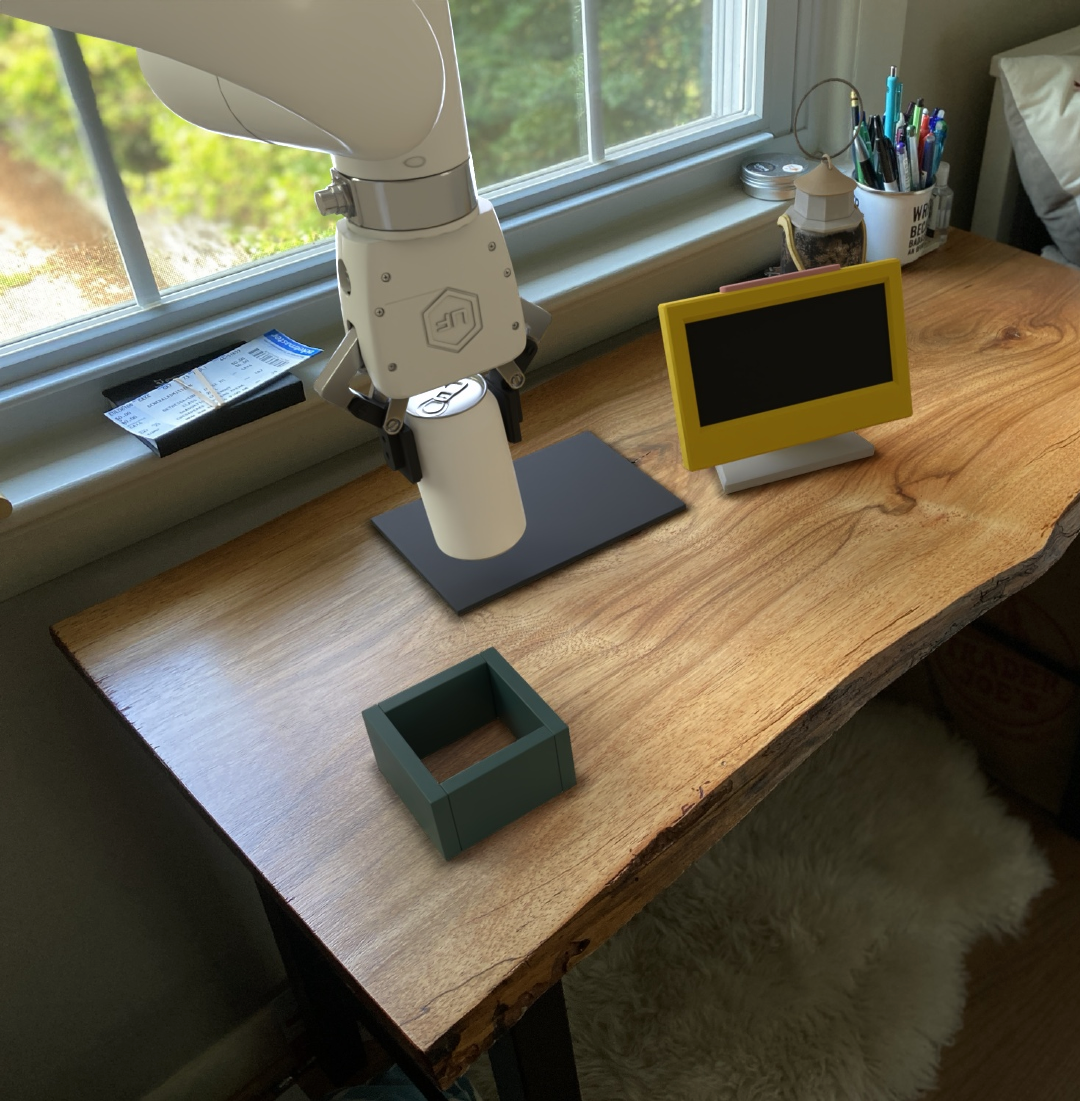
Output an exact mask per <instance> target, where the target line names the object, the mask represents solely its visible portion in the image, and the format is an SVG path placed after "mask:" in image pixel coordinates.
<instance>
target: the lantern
mask: <svg viewBox="0 0 1080 1101" xmlns="http://www.w3.org/2000/svg"><path fill="white" fill-rule="evenodd" d="M830 82H838V83H843V84H845V85H847V86H848V87H850V88H851V89H852V90H853V91H854V94H855V95H856V96H857V99H858V103H859V110H860V111H859V112H860V115H859V122H858V125H857V128H856V131H855V132H854V134H853V137H852V138H851V139H850V141H849V142H848V143H847V144H846V145H845V146H844V148H842V149H841V150H840V151H838V152H836V153H834V154H832V155H829V154H827V153H824V154H823V155H822V156H821V157H820V156H815V155H813V154H810V153H809V152H808V151H806V150H805V148H804V147H803V146H802V145H801V142H800V140H799V136H798V132H797V121H798V116H799V113H800V109H801V107H802V105H803V103H804V102H805V100H806V98H807V97H808V96H809V95H810V93H812V91H814V90H815V89H816V88H818V87H820V86H821V85H823V84H826V83H830ZM863 119H864V105H863V100H862V97H861V94H860V92H859V90H858V89H857V87H855V86H854V85H853V84H852V83H851V82H850V81H849V80H846V79H843V78H841V77H840V78H839V77H830V78H826V79H823V80H820V81H819V82H817V83H814V84H813V85H812V86H811V87H810V88H809V89H808V90H807V91H806V92H805V94H803V95H802V97H801V99H800V101H799V103H798V104H797V107H796V109H795V113H794V116H793V124H792V127H793V135H794V139H795V143H796V144H797V147H798V148H799V149H800V151H801V152H802V154H804V155H805V156H806V157H808V158H811V159H812V160H816V161H820V163H819V164H818V165H816V167H814V168H812V169H811V170H810V171H809V172H807V173H805V174H803V175H801V176H799V177H796V178H795V179H794V181H793V185H794V187H795V188H796V189H795V198H794V203H793V204H791V205H790V206H789V207H788V208H786V210H785V211H784V213H783V214H782V215H780V216H779V217H778V219H777V221H776V224H777V225H776V226H777V227H779V228H783V229H782V232H781V248H780V249H781V251H780V266H779V275H783V274H788V273H793V272H798V271H803V270H808V269H813V268H818V267H823V266H828V265H834V264H840V268H844V267H849V266H854V265H859V264H864V263H867V254H868V253H867V252H868V232H867V224H866V221H865V218H864V217H865V213H863V212H862V211H861V210H860V208H859V206H858V205H857V204H856V203H855V190H857V188H858V182H856V181H855V180H854V178H851V177H849V176H848V175H846V174H844V173H843V172H842V171H841V170H839V169H838V167H836V165H834V164H833V163H832V159H836V158H837V157H839V156H841V155H842V154H843V153H845V152H846V151H847V150H848V149H849V148H850V147H851V146H852V144H853V143H854V142H855V141H856V139H857V138H858V135H859V133H860V131H861V128H862V125H863Z"/></svg>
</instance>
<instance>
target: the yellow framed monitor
mask: <svg viewBox="0 0 1080 1101" xmlns="http://www.w3.org/2000/svg"><path fill="white" fill-rule="evenodd" d="M903 289H904V288H903V279H902V266H901V260H900V259H899V258H893V257H892V258H891V257H890V258H885V259H880V260H875V261H870V262H866V263H864V264H859V265H854V266H849V267H844V268H840V264H834V265H828V266H823V267H818V268H813V269H808V270H803V271H798V272H793V273H788V274H783V275H780V274H779V275H773V276H769V277H763V278H758V279H753V280H748V281H743V282H738V283H732V284H727V285H723V286H720V287H719V292H714V293H709V294H703V295H699V296H694V297H693V296H692V297H688V298H683V299H678V300H673V301H668V302H663V303H659V305H658V306H657V311H658V317H659V323H660V328H661V335H662V341H663V348H664V353H665V359H666V360H665V361H666V366H667V372H668V378H669V384H670V390H671V397H672V403H673V409H674V415H675V423H676V429H677V434H678V438H679V439H678V441H679V447H680V454H681V459H682V465H683V468H684V469H685V470H686V471H688V472H691V473H694V472H698V471H702V470H706V469H710V468H713V467H715V470H716V473H717V476H718V479H719V481H720V484H721V487H722V490H723V492H724V493H725V494H727V495H728V494H732V493H735V492H739V491H743V490H747V489H751V488H755V487H758V486H762V485H765V484H770V483H774V482H778V481H782V480H785V479H788V478H792V477H797V476H800V475H804V474H808V473H812V472H815V471H818V470H822V469H826V468H831V467H833V466H838V465H842V464H846V463H849V462H853V461H857V460H861V459H864V458H869V457H872V456H874V455H875V445H874V444H873V443H872V442H870V441H868V440H867V439H865V437H862V436H861V435H860V434H858V433H856V432H855V431H859V430H863V429H867V428H872V427H876V426H880V425H883V424H887V423H891V422H895V421H899V420H903V419H907V418H910V417H912V416H913V414H914V411H913V399H912V387H911V386H912V385H911V373H910V363H909V351H908V350H909V349H908V340H907V339H908V338H907V326H906V314H905V302H904V290H903Z"/></svg>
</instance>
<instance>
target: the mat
mask: <svg viewBox="0 0 1080 1101" xmlns="http://www.w3.org/2000/svg"><path fill="white" fill-rule="evenodd" d="M512 462H513V466H514V470H515V474H516V479H517V483H518V487H519V492H520V496H521V500H522V505H523V509H524V514H525V518H526V528H525V531H524V533H523V535H522V536H521V538H520V539H519V541H518V542H517V543H516V544H515V545H514V546H513V547H512V548H511V549H509V550H508V551H506V552H505V553H503V554H501V555H499V556H496V557H494V558H490V559H486V560H480V561H467V560H460V559H456V558H453V557H451V556H449V555H447V554H445V553H444V552H443V551H442V550H441V549H440V548H439V547H438V545H437V543H436V540H435V537H434V534H433V531H432V528H431V525H430V522H429V519H428V516H427V513H426V509H425V506H424V503H423V500H422V497H421V498H418V499H415V500H412V501H411V502H408V503H405V504H403V505H401V506H398V507H396V508H393V509H391V510H388V511H386V512H383V513H380V514H378V515H376V516H373V517H370V523H371V524H372V525H373V527H374V528H375V529H376V530H377V531H378V532H379V534H381V536H382V537H384V538H385V540H386V541H387V542H388V543H389V544H390V545H391V546H392V547H393V548H394V549H395V551H397V552H398V554H399V555H400V556H401V557H402V558H403V559H404V560H405V561H406V562H407V563H408V564H409V565H410V566H411V567H412V568H413V569H414V571H415V572H416V573H417V574H418V575H419V576H420V577H421V578H422V580H424V581H425V582H426V583H427V584H428V586H429V587H430V588H431V589H432V590H433V591H434V592H435V593H436V594H437V595H438V597H439V598H441V599H442V601H443V602H444V603H445V604H446V605H447V606H448V607H449V608H450V609H451V610H452V611H453V612H454V613H455V615H456V616H457V617H461V616H463V615H465V614H467V613H470V612H471V611H473V610H475V609H478V608H479V607H481V606H484V605H486V604H488V603H490V602H492V601H495V600H497V599H499V598H501V597H504V596H505V595H507V594H510V593H512V592H513V591H516V590H517V589H520V588H522V587H525V586H526V585H528V584H530V583H533V582H534V581H537V580H539V579H541V578H543V577H545V576H547V575H550V574H551V573H554V572H556V571H558V570H560V569H562V568H564V567H566V566H569V565H570V564H573V563H575V562H577V561H579V560H581V559H583V558H585V557H588V556H590V555H592V554H595V553H596V552H598V551H600V550H603V549H604V548H607V547H608V546H610V545H613V544H615V543H617V542H619V541H622V540H624V539H626V538H627V537H630V536H632V535H635V534H636V533H638V532H641V531H642V530H644V529H647V528H649V527H651V526H653V525H655V524H657V523H659V522H661V521H663V520H666V519H668V518H670V517H672V516H673V515H676V514H679V513H681V512H682V511H684V510H686V509H687V503H685V502H684V501H683V500H681V499H680V498H679V497H678V496H676V494H673V493H672V491H669V490H668V489H667V488H666V487H664V486H663V485H661V484H660V483H659V482H658V481H657V480H655V479H653V478H652V477H651V476H649V475H648V474H647V473H646V472H644V471H643V470H641V469H640V468H638V466H636V465H635V464H634V463H632V462H631V461H630V460H628V459H627V458H625V457H624V456H623V455H621V453H619V452H617V451H616V450H615V449H613V448H612V447H610V446H609V445H608V444H607V443H605V442H604V441H603V440H601V439H600V438H599V437H597V436H596V435H595V434H594V433H592V432H590V431H589V430H585V431H582V432H580V433H577V434H575V435H573V436H570V437H568V438H565V439H563V440H560V441H558V442H555V443H553V444H550V445H548V446H546V447H542V448H541V449H538V450H536V451H533V452H531V453H528V454H526V455H524V456H521V457H519V458H516V459H514V460H512Z"/></svg>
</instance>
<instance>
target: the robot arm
mask: <svg viewBox="0 0 1080 1101" xmlns="http://www.w3.org/2000/svg"><path fill="white" fill-rule="evenodd" d="M0 14H3V15H6V16H9V17H12V18H16V19H18V20H22V21H26V22H30V23H34V24H38V25H41V26H45V27H49V28H54V29H58V30H63V31H66V32H71V33H75V34H79V35H84V36H88V37H92V38H96V39H100V40H104V41H109V42H113V43H117V44H120V45H123V46H128V47H131V48H135V53H136V58H137V61H138V66H139V69H140V71H141V74H142V76H143V78H144V80H145V82H146V84H147V85H148V87H149V89H150V90H151V92H152V93H153V95H154V96H155V97H156V98H157V99H158V100H159V101H160V102H161V103H162V104H163V105H164V106H165V107H166V108H167V109H168V110H169V111H171V112H172V113H173V114H174V115H176V116H177V117H179V118H180V119H182V120H183V121H185V122H187V123H189V124H191V125H193V126H196V127H198V128H200V129H203V130H205V131H208V132H211V133H214V134H217V135H222V136H226V137H231V138H237V139H242V140H245V141H251V142H256V143H258V142H259V143H262V144H269V145H277V146H284V147H290V148H295V149H302V150H307V151H314V152H318V153H323V154H329V155H330V158H331V162H332V166H333V167H330V168H329V172H330V175H331V184H329V185H326V187H325V189H321V190H316V191H314V193H313V197H314V203H315V205H316V208H317V210H318V212H319V214H320V215H321V216H323V217H325V216H330V215H336V216H340V215H341V216H343V218H341V219H338V220H337V221H336V224H335V260H336V277H337V286H338V295H339V302H340V309H341V315H342V321H343V326H344V327H343V328H344V332H345V336H344V338H342V341H341V342H340V344H339V345H338V347H337V348H336V350H335V351H334V352H333V354H332V356H331V357H330V359H329V360H328V361H327V363H326V364H325V366H324V368H322V370H321V371H320V373H319V375H318V376H317V378H316V379H315V381H314V382H313V386H312V388H313V390H314V392H315V393H316V394H318V395H319V396H320V398H322V399H323V400H324V401H325V402H327V403H329V404H331V405H333V406H335V407H337V408H339V409H340V410H343V411H345V412H347V413H349V414H350V415H352V416H353V417H355V418H356V419H359V420H361V421H363V422H365V423H367V424H370V425H372V426H374V427H376V428H377V432H378V438H379V442H380V445H381V450H382V454H383V457H384V461H385V463H386V465H387V466H388V467H389V469H390V470H391V471H393V472H397V471H398V472H399V473H400V474H401V475H403V477H404V478H405V479H406V480H408V481H409V482H410V483H411V484H412V485H416V484H417V483H418V482H420V481H421V479H422V478H423V476H422V471H421V466H420V462H419V457H418V452H417V448H416V443H415V438H414V434H413V431H412V429H411V428H410V427H408V426H407V425H406V424H405V423H404V418H405V414H406V410H407V406H408V402H409V398H410V397H413V396H417V395H420V394H423V393H426V392H429V391H432V390H434V389H437V388H440V387H443V386H446V385H449V384H452V383H454V382H457V381H460V380H463V379H466V378H468V377H471V376H474V375H477V374H479V375H481V374H482V373H485V372H488V371H489V372H488V374H485V375H483V378H484V379H485V380H486V382H487V388H488V389H489V390H490V391H491V393H492V394H493V395H494V396H495V398H496V400H497V402H498V405H499V409H500V412H501V416H502V420H503V424H504V428H505V433H506V437H507V441H508V443H510V444H513V445H516V444H518V443H521V442H522V440H523V439H522V438H523V437H522V432H521V423H522V422H523V421H524V417H523V408H522V402H521V396H520V388H522V387H523V386H524V384H525V382H526V376H525V372H526V371H527V369H528V368H529V366H530V364H531V363H532V361H533V360H534V358H535V357H536V355H537V353H538V349H539V348H538V344H539V343H541V342H542V340H543V339H544V336H545V335H546V334H547V331H548V330H549V328H550V326H551V324H552V322H553V316H552V314H551V313H550V312H549V311H547V310H545V309H544V308H542V307H541V306H539V305H537V304H535V303H534V302H532V301H530V300H528V299H526V298H525V297H523V296H521V295H520V292H519V287H518V282H517V278H516V275H515V270H514V266H513V262H512V259H511V256H510V252H509V249H508V245H507V242H506V239H505V236H504V233H503V230H502V227H501V224H500V221H499V219H498V215H497V213H496V211H495V208H494V205H493V203H492V202H491V201H490V200H489V199H487V198H484V197H482V196H479V195H478V191H477V190H478V189H477V184H476V178H475V171H474V170H475V169H474V164H473V158H472V152H471V147H470V138H469V132H468V125H467V118H466V112H465V111H466V110H465V105H464V97H463V91H462V84H461V83H462V82H461V77H460V72H459V64H458V58H457V57H458V56H457V51H456V43H455V38H454V30H453V24H452V18H451V11H450V4H449V0H0ZM357 373H360V374H362V375H368V376H369V378H370V380H371V382H370V387H369V390H368V395H366V394H364V393H362V392H360V391H358V390H355V389H352V388H350V384H351V382H352V381H353V379H354V378H355V376H356V375H357Z"/></svg>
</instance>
